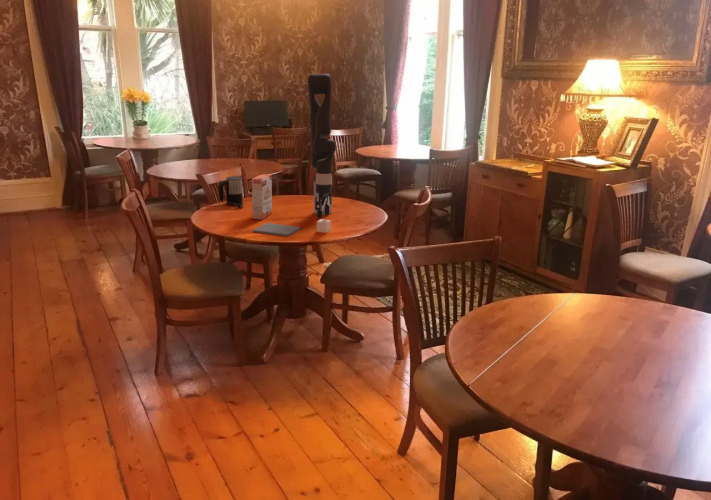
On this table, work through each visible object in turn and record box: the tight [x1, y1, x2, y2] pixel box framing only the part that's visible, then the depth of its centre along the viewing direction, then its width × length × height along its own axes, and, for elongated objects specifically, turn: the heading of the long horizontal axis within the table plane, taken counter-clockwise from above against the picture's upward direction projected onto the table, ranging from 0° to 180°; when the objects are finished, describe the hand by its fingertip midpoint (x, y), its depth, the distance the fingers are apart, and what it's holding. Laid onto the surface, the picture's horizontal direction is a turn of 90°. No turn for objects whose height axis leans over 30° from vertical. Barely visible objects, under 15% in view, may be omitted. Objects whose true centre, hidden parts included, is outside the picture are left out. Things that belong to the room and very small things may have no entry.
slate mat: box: [252, 222, 302, 238], centre depth 267 cm, size 14×18×1 cm
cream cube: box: [316, 218, 332, 234], centre depth 269 cm, size 5×5×5 cm
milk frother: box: [217, 175, 244, 208], centre depth 310 cm, size 14×16×15 cm
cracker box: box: [251, 173, 273, 221], centre depth 288 cm, size 14×6×21 cm, turn 168°
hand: (323, 216), depth 267 cm, fingers open, 8 cm apart
